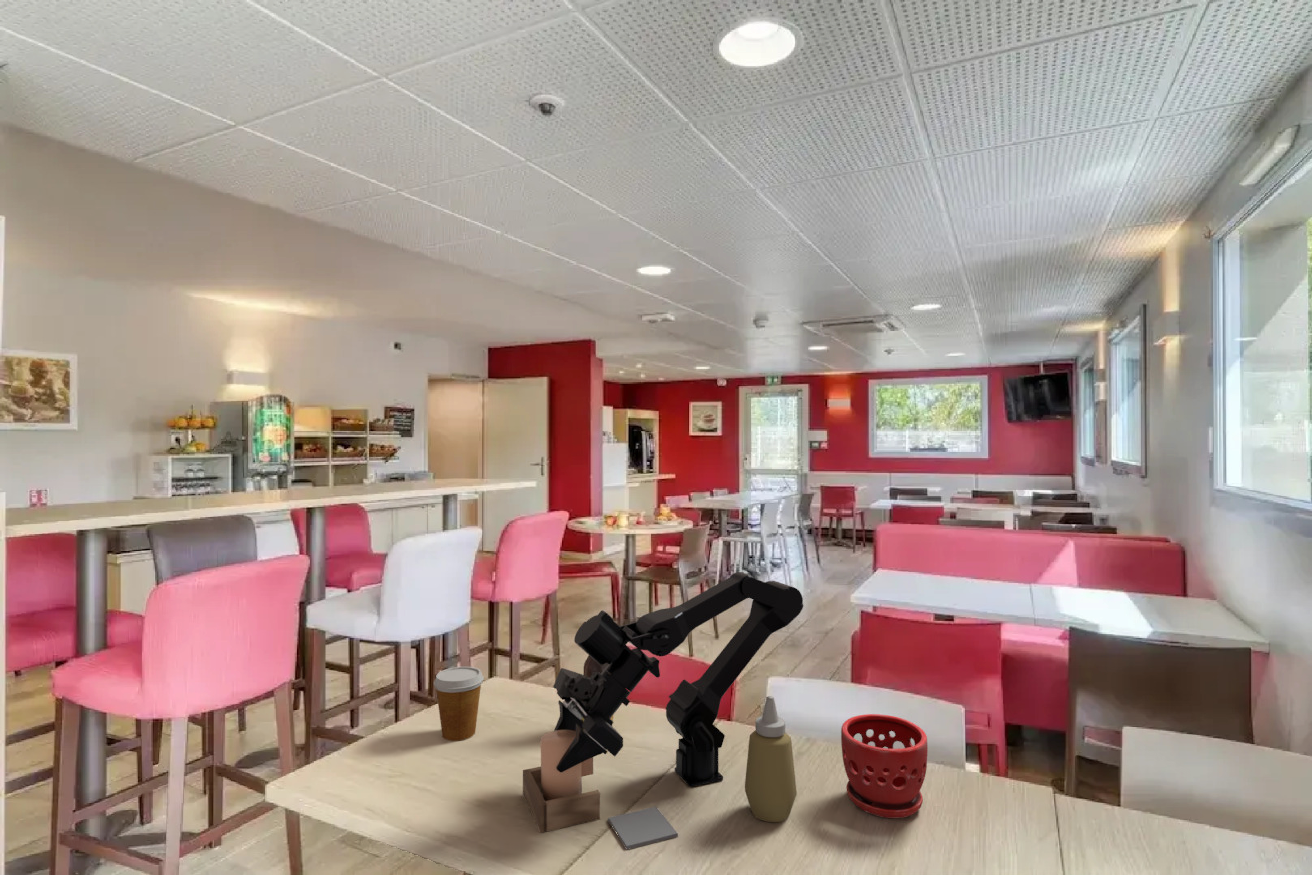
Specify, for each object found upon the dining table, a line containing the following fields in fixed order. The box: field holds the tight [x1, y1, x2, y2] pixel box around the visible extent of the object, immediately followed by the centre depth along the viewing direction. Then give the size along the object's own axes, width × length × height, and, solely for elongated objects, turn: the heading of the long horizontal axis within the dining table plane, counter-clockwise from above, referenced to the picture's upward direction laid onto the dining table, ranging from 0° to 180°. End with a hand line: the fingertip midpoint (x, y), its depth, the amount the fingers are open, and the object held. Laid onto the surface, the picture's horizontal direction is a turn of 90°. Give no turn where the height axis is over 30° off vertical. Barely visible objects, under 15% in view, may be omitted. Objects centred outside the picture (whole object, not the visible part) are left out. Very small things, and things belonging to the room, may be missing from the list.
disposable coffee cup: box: [433, 666, 484, 742], centre depth 135 cm, size 10×10×12 cm
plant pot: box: [840, 713, 929, 819], centre depth 109 cm, size 13×13×12 cm
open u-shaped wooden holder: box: [522, 766, 601, 834], centre depth 109 cm, size 9×12×4 cm
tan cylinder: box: [540, 730, 594, 801], centre depth 109 cm, size 8×6×10 cm
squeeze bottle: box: [744, 695, 798, 823], centre depth 107 cm, size 8×8×18 cm
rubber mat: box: [607, 806, 679, 850], centre depth 102 cm, size 8×8×1 cm
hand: (552, 760), depth 108 cm, fingers closed on tan cylinder, 6 cm apart
